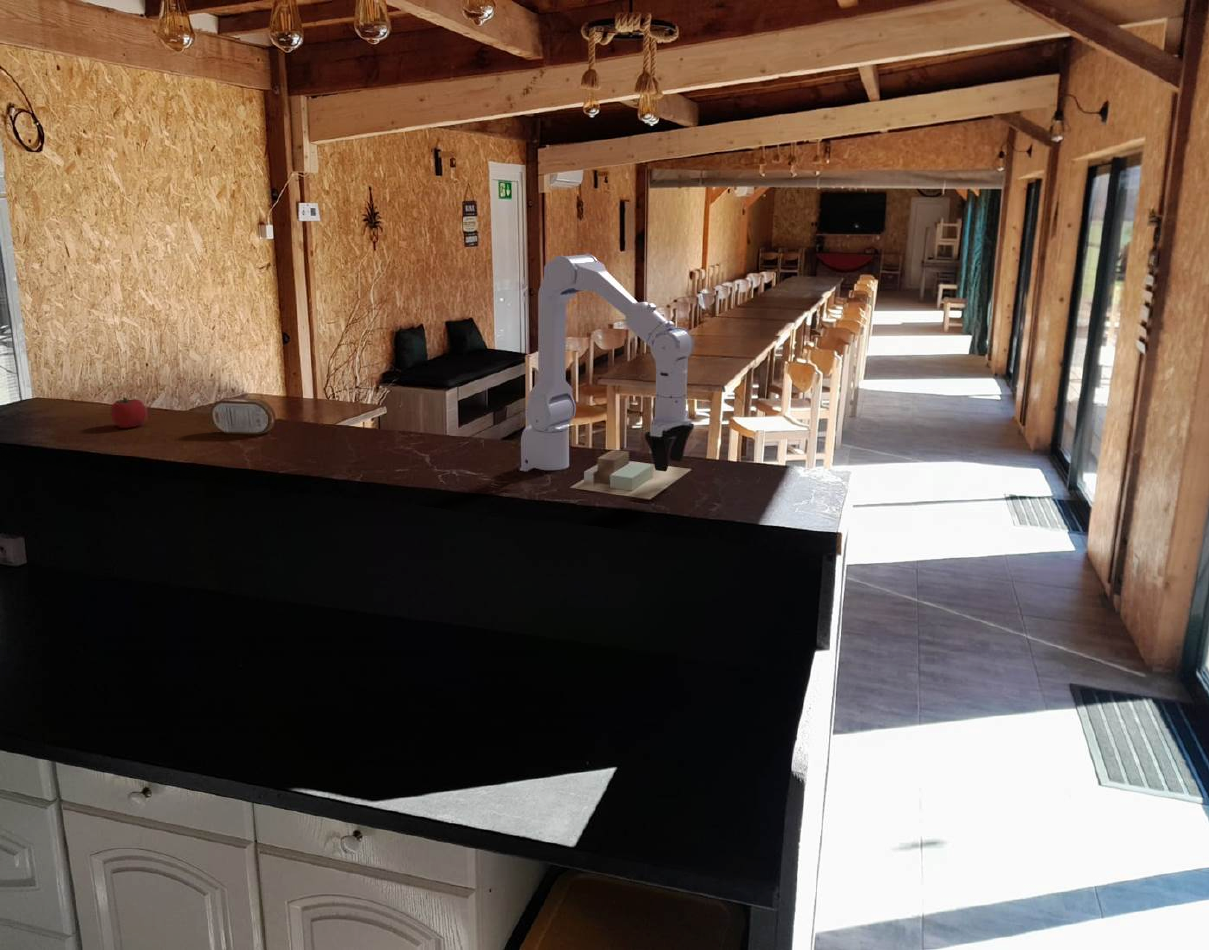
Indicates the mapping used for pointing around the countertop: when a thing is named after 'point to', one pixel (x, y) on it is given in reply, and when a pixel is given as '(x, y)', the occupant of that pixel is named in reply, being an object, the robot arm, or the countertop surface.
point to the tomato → (128, 413)
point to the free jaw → (631, 476)
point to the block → (611, 464)
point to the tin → (242, 416)
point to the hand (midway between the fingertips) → (668, 465)
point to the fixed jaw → (591, 476)
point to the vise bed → (644, 490)
